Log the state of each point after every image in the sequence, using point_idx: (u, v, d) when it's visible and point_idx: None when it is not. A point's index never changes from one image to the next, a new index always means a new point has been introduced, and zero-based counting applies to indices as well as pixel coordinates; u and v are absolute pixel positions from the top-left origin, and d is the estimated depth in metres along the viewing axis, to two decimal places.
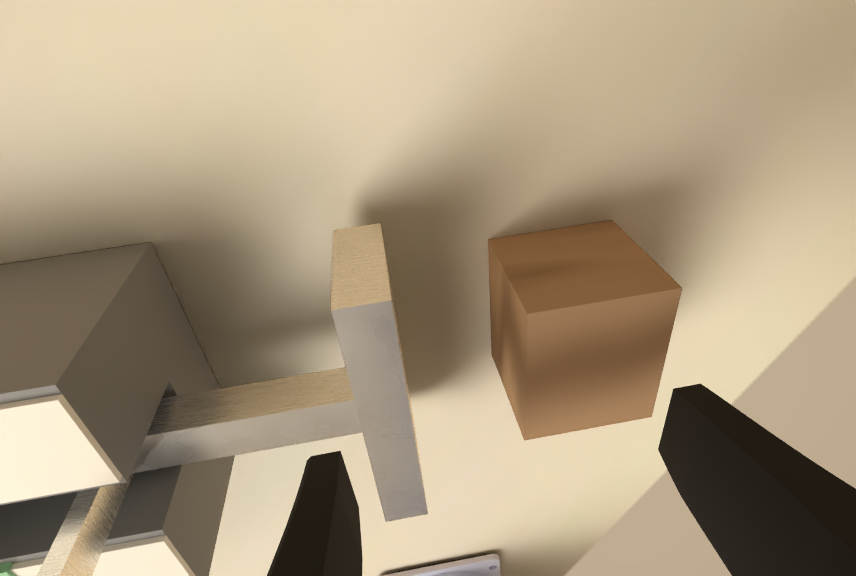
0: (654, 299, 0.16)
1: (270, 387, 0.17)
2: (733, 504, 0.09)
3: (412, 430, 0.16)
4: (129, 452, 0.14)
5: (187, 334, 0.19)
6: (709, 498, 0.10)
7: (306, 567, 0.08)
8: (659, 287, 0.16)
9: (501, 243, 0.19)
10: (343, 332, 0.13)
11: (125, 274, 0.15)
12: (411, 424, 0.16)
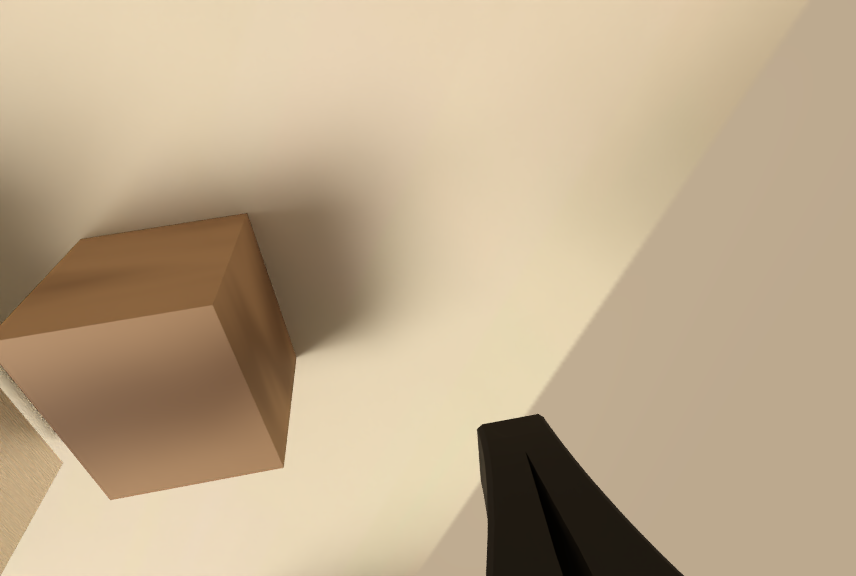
0: (178, 320, 0.11)
1: None
2: None
3: None
4: None
5: None
6: None
7: (528, 523, 0.08)
8: (187, 304, 0.11)
9: (87, 244, 0.15)
10: None
11: None
12: None
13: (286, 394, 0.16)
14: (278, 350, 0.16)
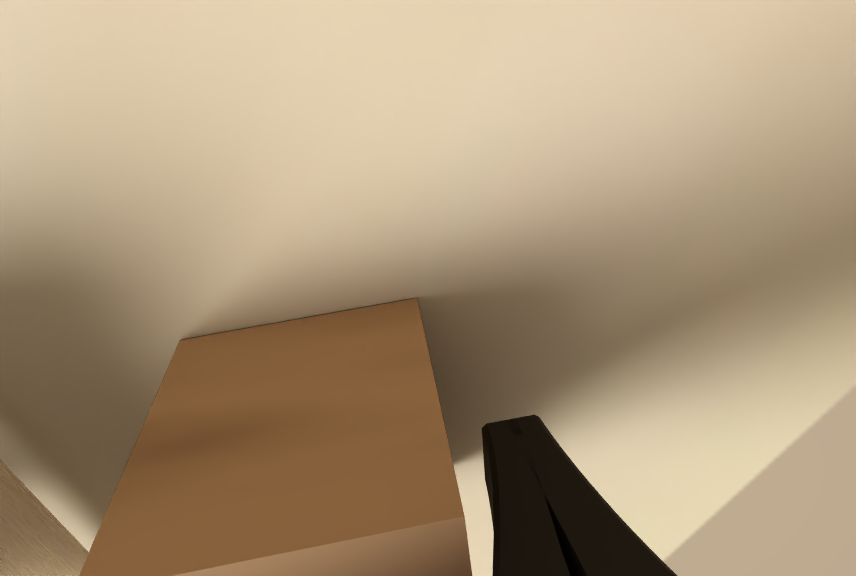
0: (401, 541, 0.07)
1: None
2: None
3: None
4: None
5: None
6: None
7: (534, 522, 0.08)
8: (414, 510, 0.07)
9: (192, 354, 0.10)
10: None
11: None
12: None
13: None
14: None
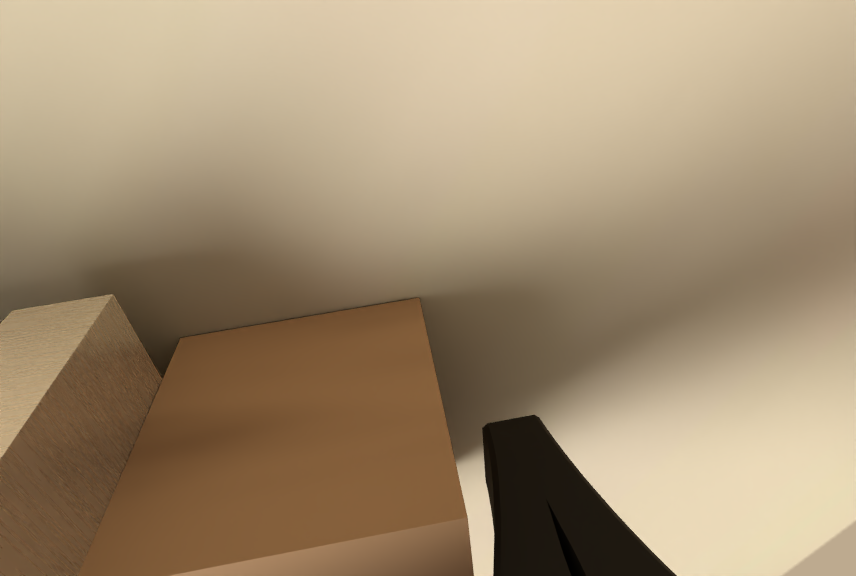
0: (404, 541, 0.06)
1: None
2: None
3: None
4: None
5: None
6: None
7: (534, 521, 0.08)
8: (417, 511, 0.07)
9: (193, 352, 0.10)
10: None
11: None
12: None
13: None
14: None
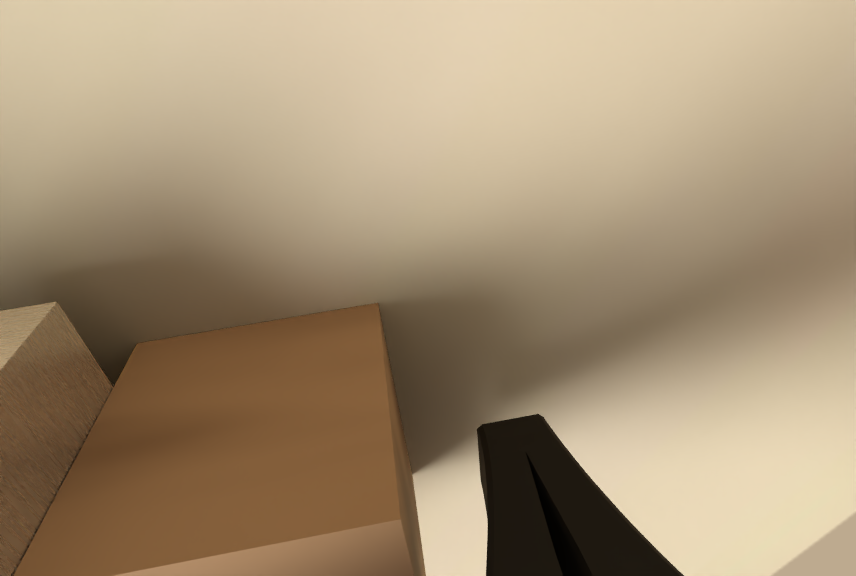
0: (338, 543, 0.07)
1: None
2: None
3: None
4: None
5: None
6: None
7: (528, 523, 0.08)
8: (352, 513, 0.07)
9: (149, 354, 0.10)
10: None
11: None
12: None
13: (421, 550, 0.12)
14: (411, 489, 0.11)
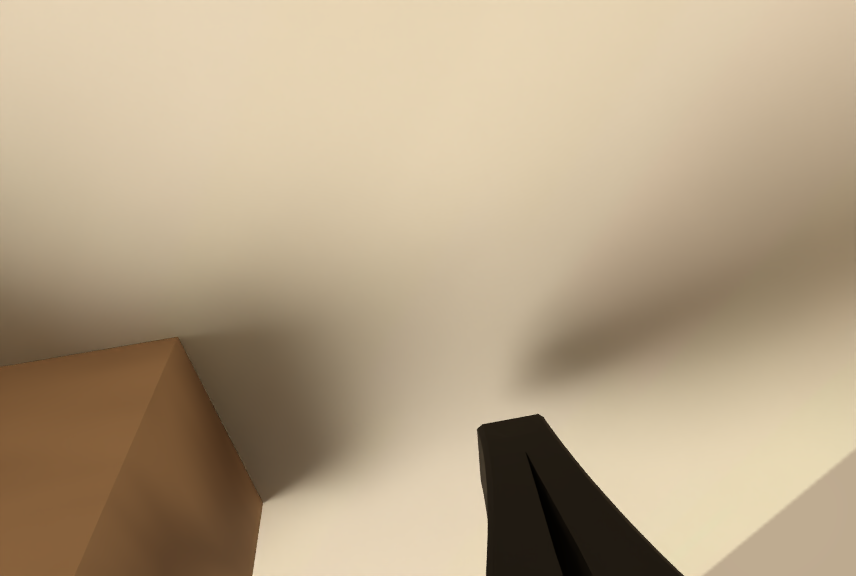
0: None
1: None
2: None
3: None
4: None
5: None
6: None
7: (528, 523, 0.08)
8: None
9: None
10: None
11: None
12: None
13: None
14: (229, 524, 0.11)
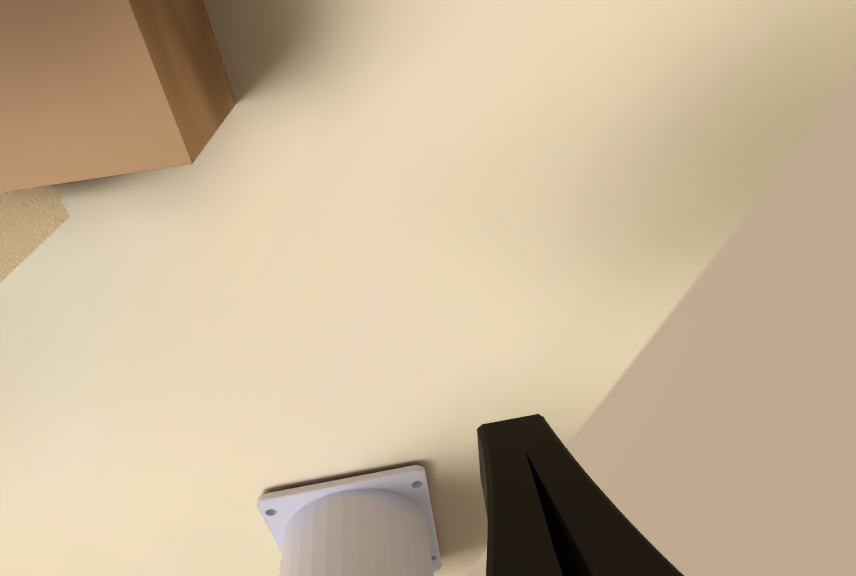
0: None
1: None
2: None
3: None
4: None
5: None
6: None
7: (528, 523, 0.08)
8: None
9: None
10: None
11: None
12: None
13: (209, 105, 0.12)
14: (197, 42, 0.12)
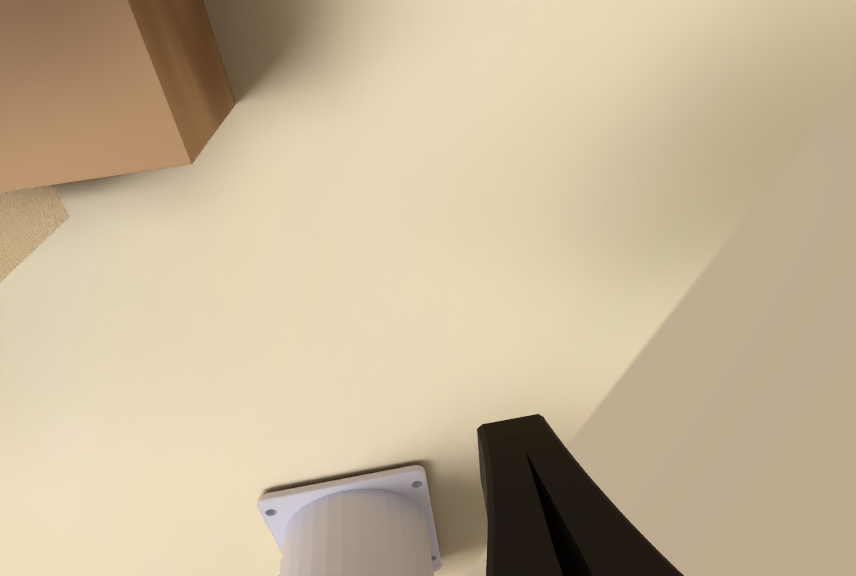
0: None
1: None
2: None
3: None
4: None
5: None
6: None
7: (528, 523, 0.08)
8: None
9: None
10: None
11: None
12: None
13: (209, 106, 0.12)
14: (197, 42, 0.12)
